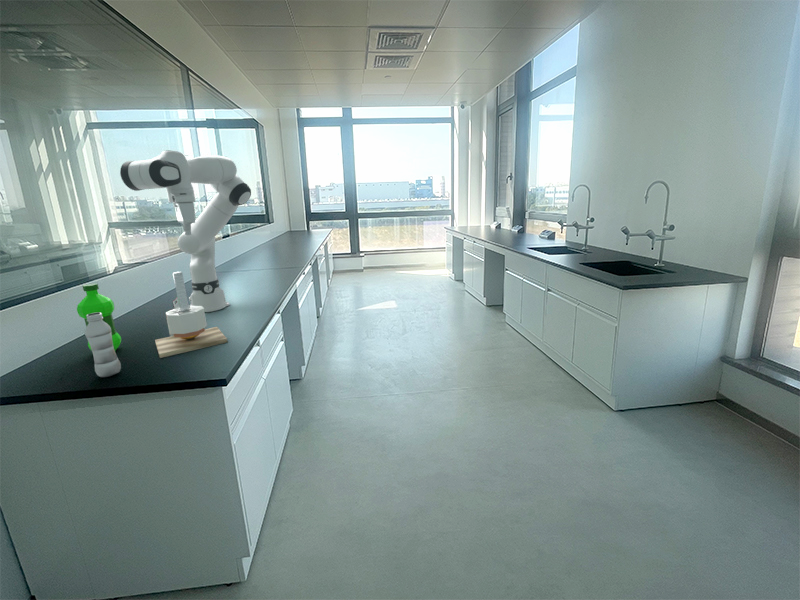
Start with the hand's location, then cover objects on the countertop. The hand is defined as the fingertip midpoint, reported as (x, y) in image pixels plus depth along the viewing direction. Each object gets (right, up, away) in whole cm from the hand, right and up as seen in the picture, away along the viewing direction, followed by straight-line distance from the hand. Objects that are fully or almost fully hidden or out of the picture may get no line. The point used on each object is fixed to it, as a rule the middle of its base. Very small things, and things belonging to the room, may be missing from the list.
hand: (188, 235), depth 149 cm
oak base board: (+2, -41, -2) cm, 41 cm away
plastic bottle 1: (-26, -44, -6) cm, 51 cm away
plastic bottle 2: (-10, -48, -26) cm, 56 cm away
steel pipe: (+2, -39, -2) cm, 40 cm away
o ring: (+2, -37, -3) cm, 37 cm away
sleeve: (+2, -35, -3) cm, 35 cm away
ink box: (-9, -39, +8) cm, 41 cm away
